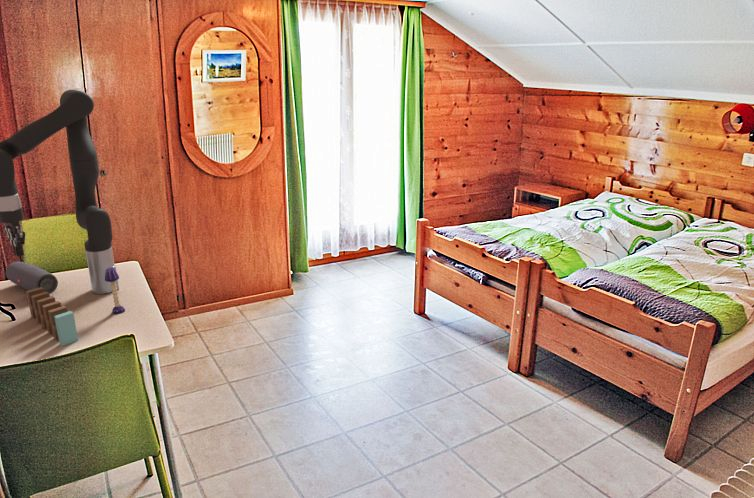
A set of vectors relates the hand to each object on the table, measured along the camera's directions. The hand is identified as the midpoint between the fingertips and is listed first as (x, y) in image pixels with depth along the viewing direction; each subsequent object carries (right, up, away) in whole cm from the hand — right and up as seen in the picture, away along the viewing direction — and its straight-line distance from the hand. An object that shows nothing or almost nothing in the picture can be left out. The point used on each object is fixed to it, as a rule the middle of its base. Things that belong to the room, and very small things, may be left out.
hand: (19, 254), depth 204 cm
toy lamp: (+32, -21, +6) cm, 38 cm away
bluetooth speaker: (-8, -14, +23) cm, 28 cm away
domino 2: (+10, -23, -1) cm, 25 cm away
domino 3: (+14, -24, -5) cm, 28 cm away
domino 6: (+25, -28, -15) cm, 41 cm away
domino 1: (+6, -22, +2) cm, 22 cm away
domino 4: (+18, -26, -8) cm, 32 cm away
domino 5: (+22, -27, -12) cm, 36 cm away
